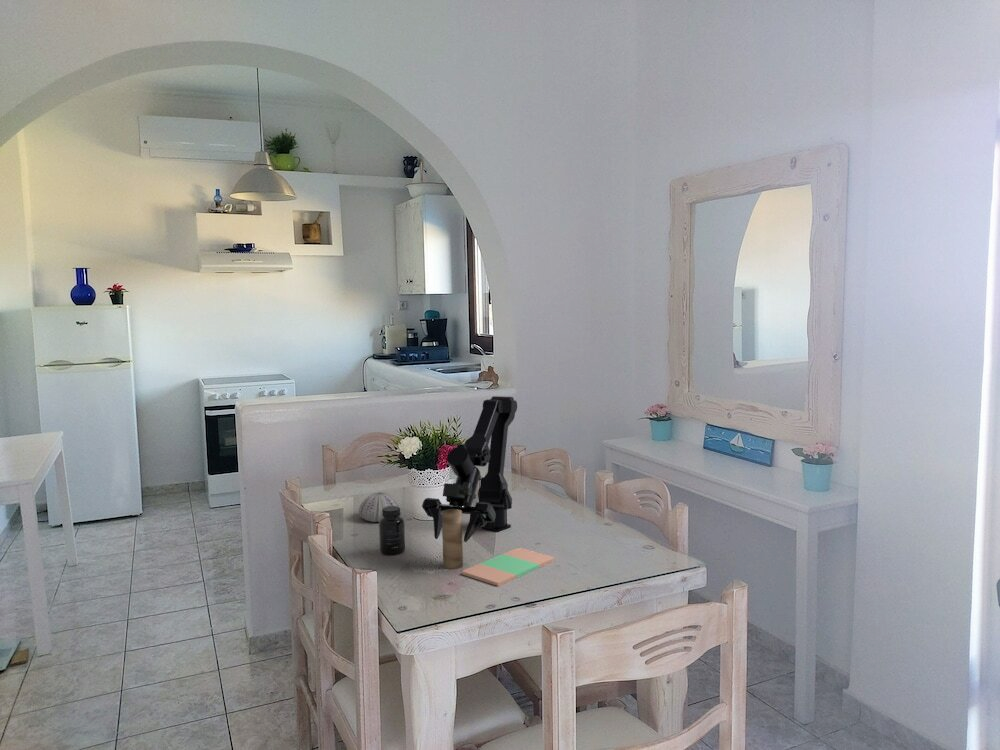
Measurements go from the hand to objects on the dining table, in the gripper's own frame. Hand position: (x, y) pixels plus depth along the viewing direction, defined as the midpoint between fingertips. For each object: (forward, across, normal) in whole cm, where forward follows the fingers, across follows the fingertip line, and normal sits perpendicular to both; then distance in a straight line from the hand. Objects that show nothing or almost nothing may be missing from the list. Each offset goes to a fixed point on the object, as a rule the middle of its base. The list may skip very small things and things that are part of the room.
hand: (450, 539), depth 183 cm
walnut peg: (+4, 0, +6) cm, 7 cm away
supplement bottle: (+1, -20, +10) cm, 22 cm away
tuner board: (+2, +14, +8) cm, 16 cm away
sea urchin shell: (-18, -38, +28) cm, 51 cm away
